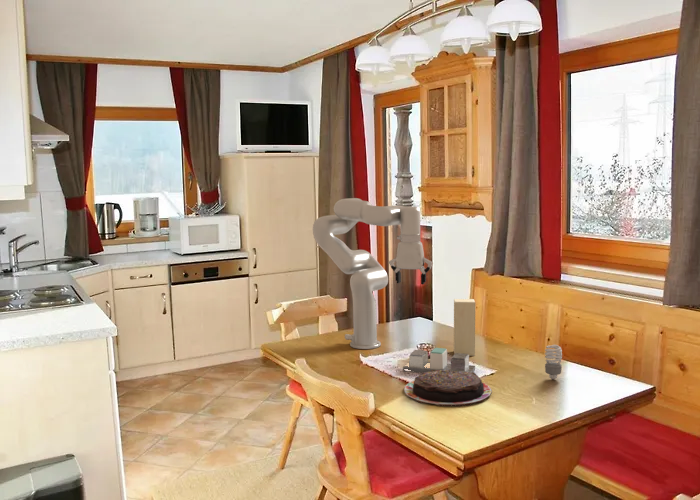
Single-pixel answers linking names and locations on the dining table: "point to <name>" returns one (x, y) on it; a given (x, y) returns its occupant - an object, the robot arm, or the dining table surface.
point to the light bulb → (553, 361)
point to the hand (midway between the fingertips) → (410, 283)
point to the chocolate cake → (448, 388)
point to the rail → (457, 364)
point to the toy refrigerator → (464, 326)
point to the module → (438, 358)
